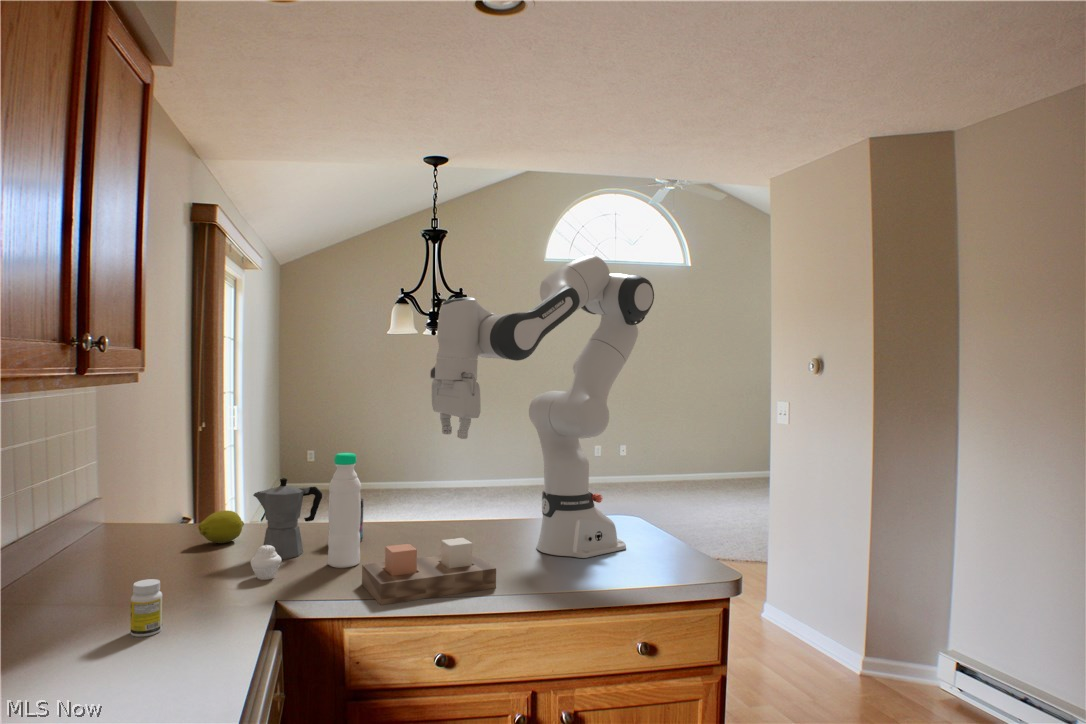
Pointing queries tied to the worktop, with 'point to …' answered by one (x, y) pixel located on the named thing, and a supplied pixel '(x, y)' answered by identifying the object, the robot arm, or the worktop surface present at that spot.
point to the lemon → (221, 526)
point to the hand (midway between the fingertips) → (454, 436)
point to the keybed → (427, 580)
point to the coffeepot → (286, 516)
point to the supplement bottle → (146, 608)
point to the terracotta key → (400, 559)
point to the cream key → (456, 553)
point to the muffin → (266, 562)
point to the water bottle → (344, 513)
